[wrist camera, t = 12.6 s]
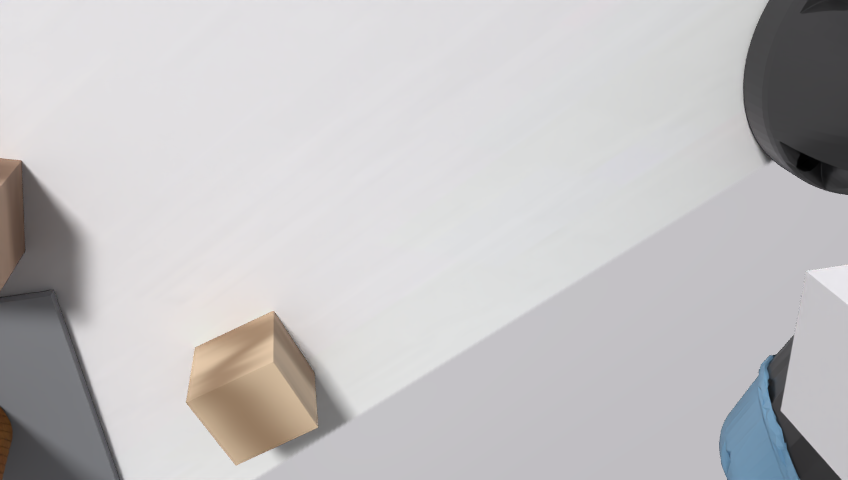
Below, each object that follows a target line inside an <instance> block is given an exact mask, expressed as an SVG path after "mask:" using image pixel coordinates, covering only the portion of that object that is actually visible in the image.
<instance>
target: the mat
mask: <svg viewBox="0 0 848 480" xmlns="http://www.w3.org/2000/svg"><path fill="white" fill-rule="evenodd" d="M0 407H1V408H2V410H3V411H4V412H5V413H6V415H7V417H8V419H9V420H10V422H11V426H12V430H13V437H12V442H11V446H10V449H9V454H8V457H7V462H6V465H5V470H4V474H3V479H2V480H120V479H119V476H118V473H117V471H116V468H115V465H114V462H113V459H112V456H111V453H110V450H109V448H108V445H107V442H106V439H105V436H104V433H103V430H102V428H101V425H100V422H99V419H98V416H97V413H96V410H95V407H94V405H93V402H92V399H91V396H90V393H89V390H88V387H87V384H86V382H85V379H84V376H83V373H82V370H81V367H80V364H79V361H78V359H77V356H76V353H75V350H74V347H73V344H72V341H71V338H70V336H69V333H68V330H67V327H66V324H65V321H64V318H63V315H62V313H61V310H60V307H59V304H58V301H57V298H56V295H55V292H54V290H51V291H44V292H37V293H30V294H23V295H15V296H8V297H1V298H0Z"/></svg>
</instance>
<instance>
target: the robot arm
mask: <svg viewBox="0 0 848 480" xmlns="http://www.w3.org/2000/svg"><path fill="white" fill-rule="evenodd" d="M744 101H745V108H746V113H747V118H748V121H749V124H750V127H751V129H752V132H753V134H754V136H755V138H756V140H757V141H758V143H759V144H760V146H761V148H762V149H763V150H764V151H765V153H766V154H767V155H768V156H769V157H770V158H771V159H772V160H773V161H775V162H776V163H777V164H778V165H780V166H781V167H783V168H784V169H786V170H787V171H789V172H791V173H792V174H793V175H795V176H797V177H798V178H800V179H801V180H803V181H805V182H807V183H808V184H811V185H813V186H815V187H818V188H820V189H823V190H826V191H829V192H834V193H839V194H845V195H848V0H769V2H768V3H767V5H766V7H765V9H764V11H763V13H762V15H761V17H760V19H759V22H758V24H757V26H756V29H755V31H754V34H753V37H752V40H751V43H750V47H749V51H748V55H747V59H746V66H745V73H744ZM719 449H720V457H721V464H722V467H723V470H724V472H725V475H726V477H727V480H848V264H847V265H840V266H834V267H828V268H822V269H815V270H809V271H806V274H805V279H804V285H803V291H802V296H801V302H800V307H799V312H798V318H797V323H796V329H795V334H794V335H793V336H792V338H791V339H790V340H789V341H788V342H787V343H786V344H785V346H784V347H783V348H782V349H781V350H780V351H779V352H778V353H777V354H776V355H770V356H769V357H768V358H767V359H766V360H765V361H764V362H763V363H762V364H761V367H760V369H759V376H758V377H757V378H756V380H755V381H754V382H753V383H752V385H751V386H750V387H749V389H748V390H747V391H746V393H745V394H744V395H743V397H742V398H741V399H740V400H739V402H738V403H737V404H736V406H735V407H734V408H733V410H732V411H731V412H730V413H729V415H728V416H727V418H726V420H725V422H724V424H723V427H722V430H721V435H720V442H719Z"/></svg>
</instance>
